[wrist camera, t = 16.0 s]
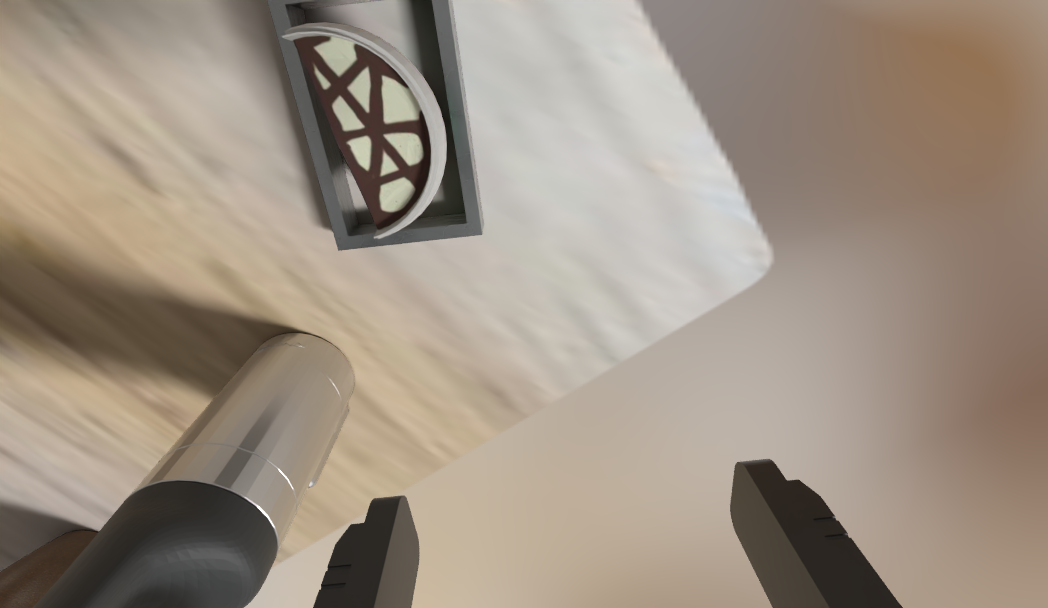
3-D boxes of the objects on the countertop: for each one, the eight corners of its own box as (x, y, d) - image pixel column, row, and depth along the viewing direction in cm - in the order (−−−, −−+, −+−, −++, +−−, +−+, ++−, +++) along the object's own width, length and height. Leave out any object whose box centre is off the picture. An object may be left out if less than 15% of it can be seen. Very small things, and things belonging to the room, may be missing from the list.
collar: (483, 223, 40) (482, 234, 37) (349, 238, 40) (338, 250, 37) (448, -26, 32) (443, -35, 30) (283, -7, 32) (263, -13, 30)
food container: (480, 182, 38) (473, 217, 29) (406, 205, 39) (377, 246, 30) (421, 6, 33) (390, -17, 24) (337, 35, 34) (276, 24, 25)
